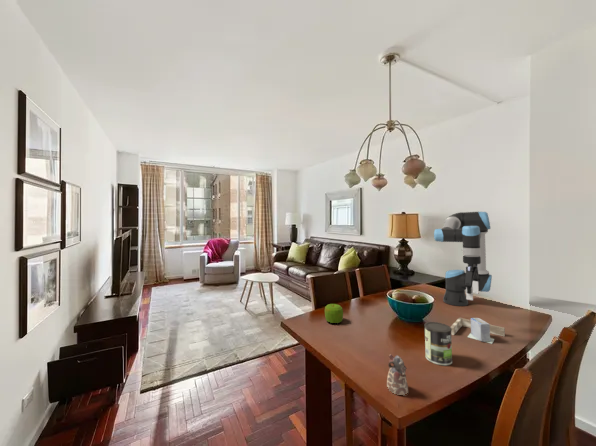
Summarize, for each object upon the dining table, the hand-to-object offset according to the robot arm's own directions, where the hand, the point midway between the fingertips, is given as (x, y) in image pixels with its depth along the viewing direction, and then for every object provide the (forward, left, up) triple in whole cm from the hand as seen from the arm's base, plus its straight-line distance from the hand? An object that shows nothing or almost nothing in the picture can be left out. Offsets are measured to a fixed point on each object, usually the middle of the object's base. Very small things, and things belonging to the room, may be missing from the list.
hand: (472, 296), depth 128 cm
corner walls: (-1, +2, -20) cm, 20 cm away
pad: (+3, +4, -20) cm, 20 cm away
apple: (+36, -63, -20) cm, 76 cm away
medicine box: (+3, +3, -20) cm, 20 cm away
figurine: (+68, -9, -20) cm, 71 cm away
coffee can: (+37, -5, -20) cm, 42 cm away
